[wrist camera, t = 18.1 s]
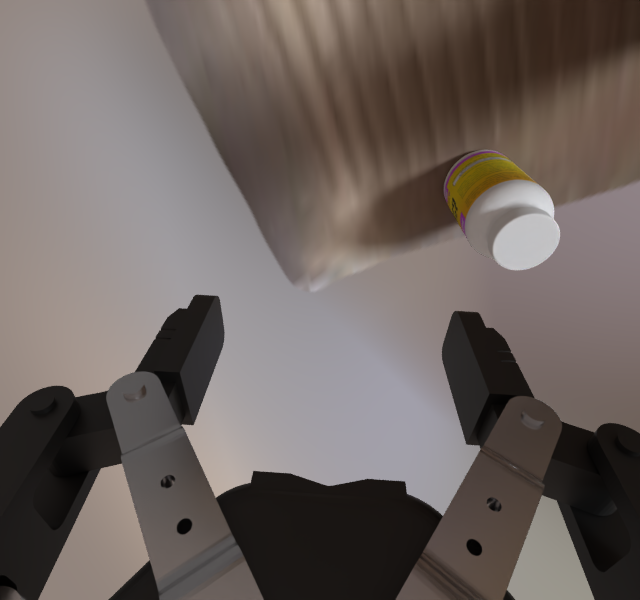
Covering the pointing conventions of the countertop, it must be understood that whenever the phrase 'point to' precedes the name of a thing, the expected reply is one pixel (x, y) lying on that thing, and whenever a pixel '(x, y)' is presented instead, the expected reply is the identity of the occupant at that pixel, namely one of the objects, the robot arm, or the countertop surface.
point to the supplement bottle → (501, 210)
